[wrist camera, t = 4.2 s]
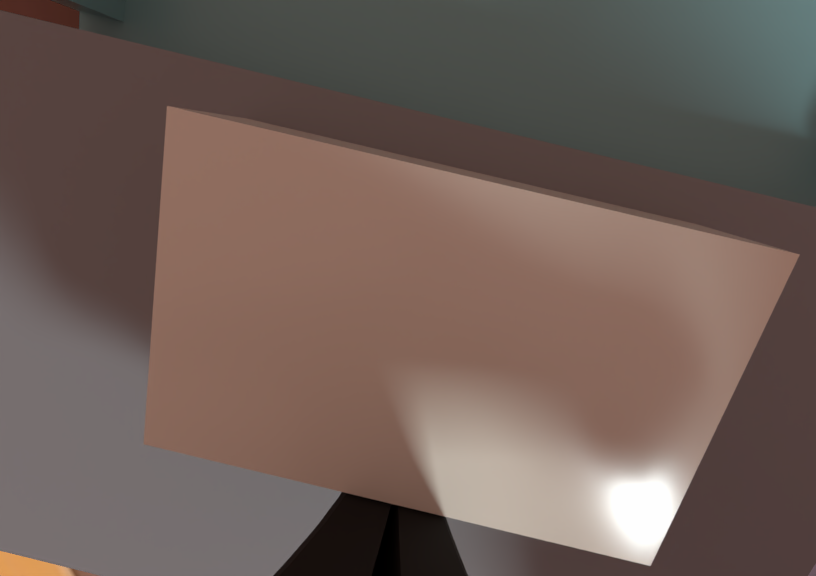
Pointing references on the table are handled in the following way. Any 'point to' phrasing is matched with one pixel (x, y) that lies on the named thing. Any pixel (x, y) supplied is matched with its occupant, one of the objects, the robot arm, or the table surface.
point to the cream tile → (442, 334)
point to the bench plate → (267, 494)
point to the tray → (539, 70)
